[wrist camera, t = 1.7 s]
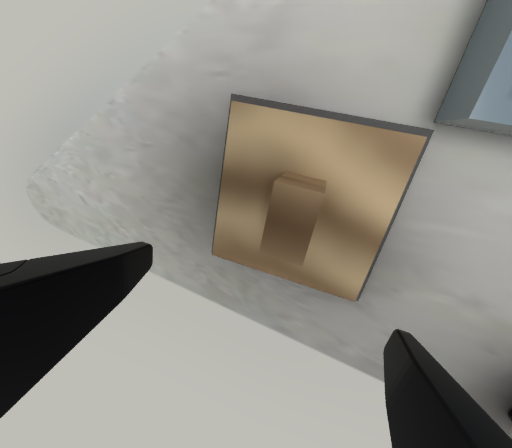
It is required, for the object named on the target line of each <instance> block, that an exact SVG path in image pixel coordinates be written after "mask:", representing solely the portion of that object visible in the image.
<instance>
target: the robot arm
mask: <svg viewBox="0 0 512 448" xmlns="http://www.w3.org/2000/svg"><path fill="white" fill-rule="evenodd" d="M152 261H153V247H152V245H150V244H148V243H145V242H136V243H130V244H124V245H117V246H111V247H104V248H98V249H92V250H85V251H80V252H73V253H66V254H60V255H54V256H47V257H41V258H35V259H30V260H22V261H15V262H9V263H3V264H0V418H1V417H2V416H3V415H4V414H5V413H6V412H8V410H10V408H12V407H13V406H14V405H15V404H16V403H17V402H18V401H19V400H20V399H21V398H22V397H23V396H24V395H25V394H26V393H27V392H28V391H29V390H30V389H31V388H32V387H33V386H34V385H35V384H36V383H38V382H39V381H40V379H42V378H43V376H45V374H47V373H48V372H49V371H50V370H51V369H52V368H53V367H54V366H55V365H56V364H57V363H58V362H59V361H60V360H61V359H62V358H63V357H64V356H65V355H66V354H68V353H69V352H70V351H71V350H72V349H73V348H74V347H75V346H76V345H77V344H78V343H79V342H80V341H81V340H82V339H83V338H84V337H85V336H86V335H87V334H88V333H89V332H90V331H91V330H92V329H93V328H94V327H95V326H96V325H98V323H100V322H101V321H102V320H103V319H104V318H105V317H106V316H107V315H108V314H109V313H110V312H111V311H112V310H113V309H114V308H115V307H116V306H117V305H118V304H119V303H120V302H121V301H122V300H123V299H124V298H125V297H126V296H127V295H128V294H129V293H130V291H131V290H132V289H133V288H134V287H135V286H136V285H137V283H138V282H139V281H140V280H141V279H142V277H143V276H144V275H145V274H146V273H147V272H148V270H149V269H150V268H151V266H152ZM384 378H385V399H386V409H387V416H388V422H389V429H390V436H391V442H392V448H512V439H511V438H510V437H509V436H508V435H507V434H506V433H505V432H504V431H503V430H502V429H501V428H500V427H499V425H498V424H497V423H496V422H495V421H494V420H493V419H492V418H491V417H490V416H489V415H488V414H487V413H486V412H485V411H484V410H483V409H482V408H481V407H480V406H479V405H478V404H477V402H476V401H475V400H474V399H473V398H472V397H471V396H470V395H469V394H468V393H467V392H466V391H465V390H464V389H463V388H462V387H461V386H460V385H459V384H458V383H457V382H456V381H455V379H454V378H453V377H452V376H451V375H450V374H449V373H448V372H447V371H446V370H445V369H444V368H443V367H442V366H441V365H440V364H439V363H438V362H437V361H436V360H435V359H434V358H433V357H432V355H431V354H430V353H429V352H428V351H427V350H426V349H425V348H424V347H423V346H422V345H421V344H420V343H419V342H418V341H417V340H416V339H415V338H414V337H413V336H412V335H411V334H410V333H408V332H405V331H402V330H399V329H396V330H394V331H393V333H392V335H391V337H390V338H389V340H388V342H387V344H386V345H385V348H384ZM508 416H509V418H510V420H511V421H512V410H511V411H510V412H509V413H508Z"/></svg>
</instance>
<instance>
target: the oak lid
mask: <svg viewBox="0 0 512 448" xmlns="http://www.w3.org/2000/svg"><path fill="white" fill-rule="evenodd" d="M426 139H427V137H424V136H419V135H414V134H408V133H403V132H398V131H392V130H387V129H381V128H376V127H371V126H365V125H360V124H355V123H349V122H344V121H339V120H333V119H328V118H322V117H317V116H312V115H306V114H301V113H296V112H290V111H285V110H280V109H274V108H269V107H264V106H258V105H253V104H247V103H242V102H237V101H231V109H230V117H229V125H228V133H227V141H226V149H225V157H224V165H223V173H222V180H221V188H220V196H219V204H218V212H217V220H216V228H215V236H214V244H213V252H212V255H214V256H218V257H221V258H224V259H227V260H230V261H233V262H236V263H239V264H242V265H245V266H248V267H251V268H254V269H257V270H260V271H263V272H266V273H269V274H272V275H275V276H278V277H281V278H284V279H287V280H290V281H293V282H296V283H299V284H302V285H305V286H308V287H311V288H314V289H317V290H321V291H324V292H327V293H330V294H333V295H336V296H339V297H342V298H345V299H348V300H351V301H354V302H355V301H356V299H357V296H358V294H359V292H360V290H361V287H362V285H363V283H364V280H365V278H366V276H367V274H368V271H369V269H370V267H371V264H372V262H373V260H374V258H375V255H376V253H377V251H378V249H379V246H380V244H381V242H382V239H383V237H384V235H385V233H386V230H387V228H388V226H389V223H390V221H391V219H392V217H393V214H394V212H395V210H396V207H397V205H398V203H399V201H400V198H401V196H402V194H403V191H404V189H405V187H406V185H407V182H408V180H409V178H410V175H411V173H412V171H413V169H414V166H415V164H416V162H417V160H418V157H419V155H420V153H421V150H422V148H423V146H424V144H425V141H426Z"/></svg>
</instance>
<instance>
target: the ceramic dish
mask: <svg viewBox="0 0 512 448" xmlns="http://www.w3.org/2000/svg"><path fill="white" fill-rule="evenodd" d="M434 122H435V123H441V124H447V125H452V126H458V127H464V128H470V129H475V130H481V131H487V132H493V133H498V134H504V135H510V136H512V0H488V1H487V3H486V5H485V7H484V10H483V12H482V14H481V17H480V19H479V21H478V23H477V26H476V28H475V30H474V32H473V35H472V37H471V39H470V42H469V44H468V46H467V48H466V51H465V53H464V55H463V58H462V60H461V62H460V64H459V67H458V69H457V71H456V74H455V76H454V78H453V80H452V83H451V85H450V87H449V89H448V92H447V94H446V96H445V99H444V101H443V103H442V105H441V108H440V110H439V112H438V115H437V117H436V119H435V121H434Z"/></svg>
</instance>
